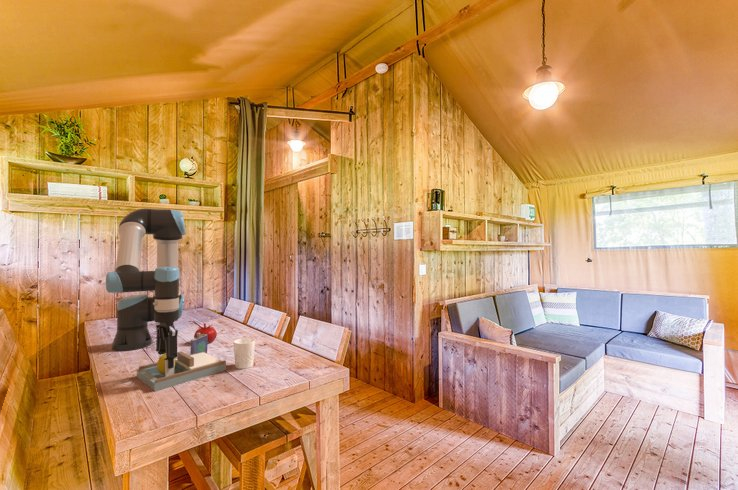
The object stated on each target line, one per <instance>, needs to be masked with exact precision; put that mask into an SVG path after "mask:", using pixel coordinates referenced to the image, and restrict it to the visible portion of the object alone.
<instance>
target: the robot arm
mask: <svg viewBox="0 0 738 490" xmlns="http://www.w3.org/2000/svg"><path fill="white" fill-rule="evenodd" d="M117 232H118V234H119V235H120V236H119V243H118V250H117V255H116V261H115V269H114V271H109V272H107V274H106V276H105V290H106V292H107V293H113V294H114V293H115V294H119V293H120V294H122V293H135V292H136V293H137V292H153V293H152V296H151V297H150V296H149V295H148V294H145V293H144V294H142V293H141V294H136V295H129V296H125V297H122V298H120V299H119V300H118V301H117V304H116V312H117V313H116V318H117V319H116V333H115V336H114V339H113V340H112V344H111V349H112V350H113V351H117V352H118V351H123V352H125V351H132V350H133V351H134V350H139V349H143V348H146V347H149V346H151V345H152V343H153V339H152V335H151V333H150V330H149V328H148V326H149V325H148V323H150V322H151V323H152V322H155V323H157V324H156V326H155V329H156V340H155V341H156V343H155V344H156V346H155V351H156V352H157V355H158V359H159V358H160V357H161V356H162V355H164V354H165V353H166V358H165V359H164V360H165V377H166V376H169V375H173V374H174V358H177V352H178V333H179V330H178V329H176V328H175V324H174V323H175V322H176V321H179V319H180V318H181V317H182V316H183V312H184V305H185V295H184V294H182V291H181V290H180V276H181V275H180V268H179V242H180V241H182V239H183V236H186V234H187V233H186V226H185V219H184V213H183V212H182V211H181V210H178V209H177V210H175V209H166V208H164V209H163V208H162V209H161V208H144V207H143V208H139V209H136V210H133V211H131V212H129V213H128V214H127V215H125V216H124V217H123V219H121V221H120V222H119V225H118V229H117ZM145 235H152V238H153V240H154V241H156V268H155V269H154V270H141V269H140V268H141V261H142V260H141V258H142V249H143V248H142V247H143V245H142V244H143V238H144V237H145ZM159 374H160V372H159Z"/></svg>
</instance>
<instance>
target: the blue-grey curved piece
mask: <svg viewBox="0 0 738 490" xmlns="http://www.w3.org/2000/svg"><path fill="white" fill-rule="evenodd" d="M196 334H197V333H196ZM200 334H201V333H198V334H197V337H195V338H194V337H193V338H191V339H190V354H194V353H199V352H203V351H206V353H207V354H208V343H207V341H208V335H207V334H202V335H200Z"/></svg>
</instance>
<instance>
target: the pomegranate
mask: <svg viewBox="0 0 738 490" xmlns="http://www.w3.org/2000/svg"><path fill="white" fill-rule="evenodd" d="M196 333H197V334H198V333H201V334H200V335H202V334H207V335H208V341H207V344H209V343H213V342H214V341H215V340H216V338H217V335H218V332H217V330H216V329H215V328H214V327H213V326H212V325H208V326H207V323H203V326H201V325H200V326H198V328H197V329H196V331H195V333H194V335H193V338H195V337H197V334H196Z"/></svg>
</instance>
